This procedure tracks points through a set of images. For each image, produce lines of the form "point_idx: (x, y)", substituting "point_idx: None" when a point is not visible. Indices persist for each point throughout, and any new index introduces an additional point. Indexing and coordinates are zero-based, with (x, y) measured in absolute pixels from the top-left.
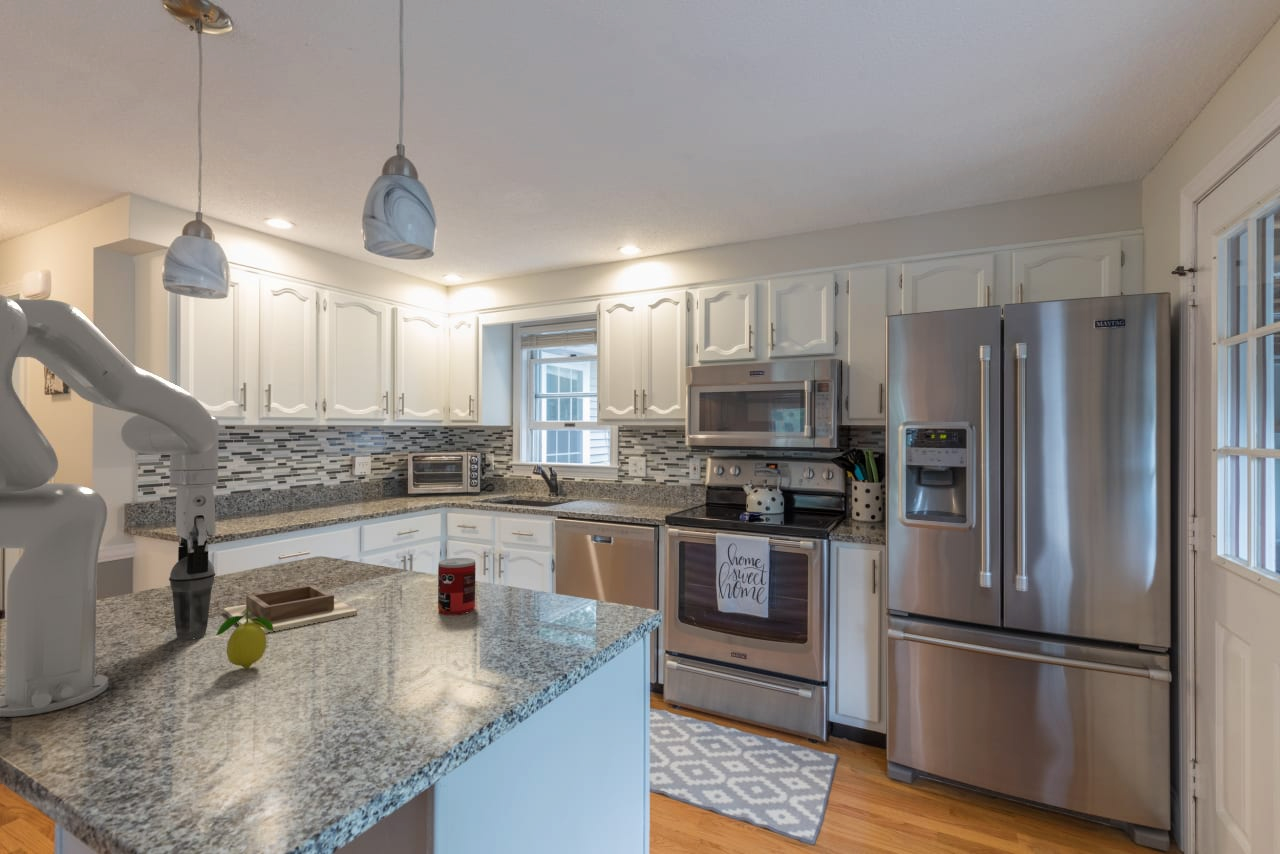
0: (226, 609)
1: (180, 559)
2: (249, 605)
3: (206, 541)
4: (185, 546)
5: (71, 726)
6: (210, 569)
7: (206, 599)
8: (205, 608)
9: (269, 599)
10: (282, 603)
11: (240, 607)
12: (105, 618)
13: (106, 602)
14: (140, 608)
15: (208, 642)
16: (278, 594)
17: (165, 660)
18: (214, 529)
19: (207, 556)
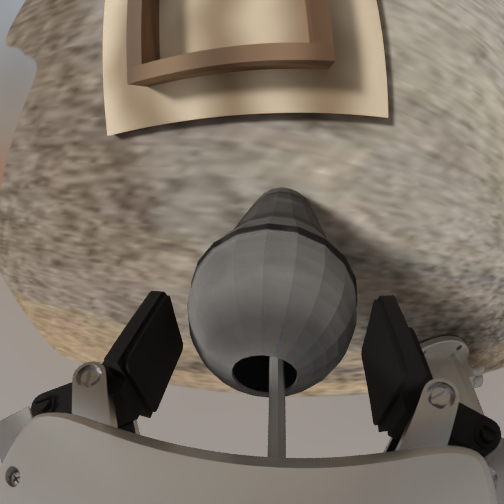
0: (122, 129)
1: (172, 368)
2: (170, 78)
3: (498, 432)
4: (140, 403)
5: (499, 347)
6: (333, 272)
7: (318, 226)
8: (315, 217)
9: (150, 33)
10: (315, 11)
11: (122, 99)
12: (71, 299)
13: (10, 281)
14: (37, 256)
15: (359, 197)
16: (145, 11)
17: (408, 275)
18: (495, 491)
19: (417, 351)
